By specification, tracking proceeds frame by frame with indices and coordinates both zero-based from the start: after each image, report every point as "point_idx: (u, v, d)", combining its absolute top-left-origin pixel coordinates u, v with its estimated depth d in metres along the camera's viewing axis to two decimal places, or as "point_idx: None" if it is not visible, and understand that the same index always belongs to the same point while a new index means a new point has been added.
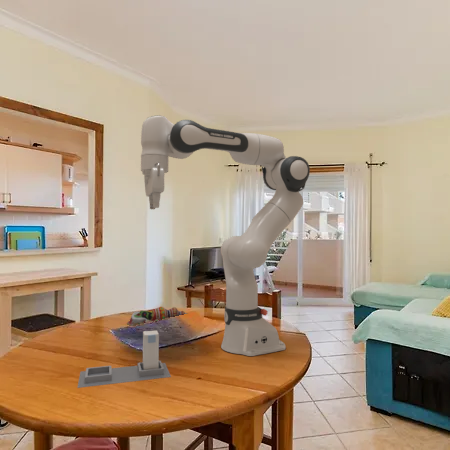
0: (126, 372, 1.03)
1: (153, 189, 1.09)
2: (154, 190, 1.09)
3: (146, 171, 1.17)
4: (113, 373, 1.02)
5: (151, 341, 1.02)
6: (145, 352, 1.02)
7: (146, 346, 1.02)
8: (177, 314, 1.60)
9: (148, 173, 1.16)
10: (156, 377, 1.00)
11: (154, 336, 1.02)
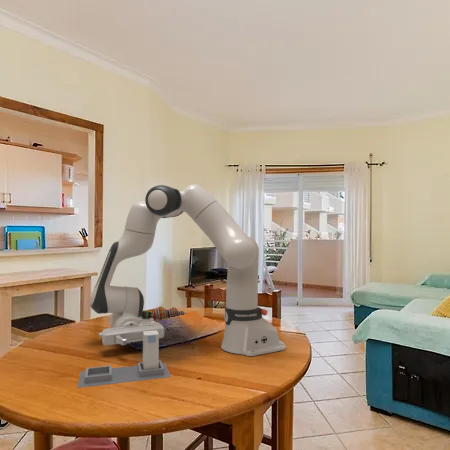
0: (126, 372, 1.03)
1: (104, 344, 1.15)
2: (105, 343, 1.15)
3: None
4: (113, 373, 1.02)
5: (151, 341, 1.02)
6: (145, 352, 1.02)
7: (146, 346, 1.02)
8: (177, 314, 1.60)
9: None
10: (156, 377, 1.00)
11: (154, 336, 1.02)
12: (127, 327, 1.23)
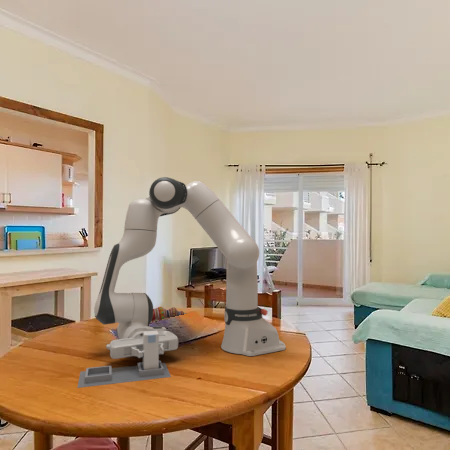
0: (126, 372, 1.03)
1: (113, 357, 1.03)
2: (114, 357, 1.03)
3: None
4: (113, 373, 1.02)
5: (151, 341, 1.02)
6: (145, 352, 1.02)
7: (146, 346, 1.02)
8: (176, 314, 1.60)
9: None
10: (156, 377, 1.00)
11: (154, 336, 1.02)
12: (137, 338, 1.12)
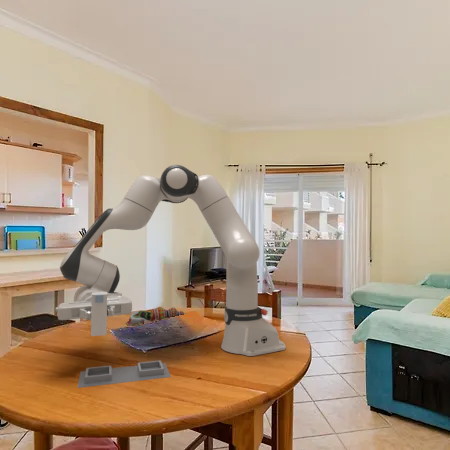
0: (126, 372, 1.03)
1: (60, 319, 0.99)
2: (60, 318, 0.99)
3: None
4: (113, 373, 1.02)
5: (98, 301, 0.97)
6: (92, 312, 0.98)
7: (94, 306, 0.98)
8: (176, 314, 1.60)
9: None
10: (156, 377, 1.00)
11: (102, 296, 0.98)
12: (89, 301, 1.08)
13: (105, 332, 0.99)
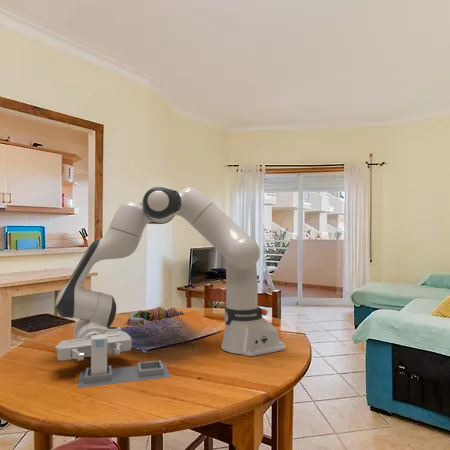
0: (126, 372, 1.03)
1: (59, 359, 0.99)
2: (60, 358, 0.99)
3: None
4: (113, 373, 1.02)
5: (99, 345, 0.97)
6: (92, 357, 0.97)
7: (94, 350, 0.98)
8: (175, 314, 1.60)
9: None
10: (156, 377, 1.00)
11: (102, 340, 0.98)
12: (89, 338, 1.07)
13: None
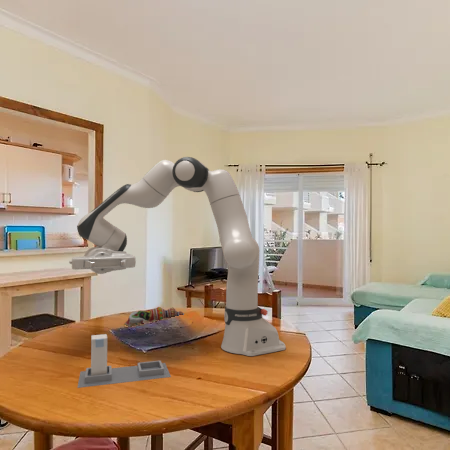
0: (126, 372, 1.03)
1: (73, 268, 1.15)
2: (74, 267, 1.15)
3: (97, 269, 1.25)
4: (113, 373, 1.02)
5: (99, 345, 0.97)
6: (92, 357, 0.97)
7: (94, 350, 0.98)
8: (175, 314, 1.60)
9: (95, 268, 1.24)
10: (156, 377, 1.00)
11: (102, 340, 0.98)
12: (98, 256, 1.23)
13: None
